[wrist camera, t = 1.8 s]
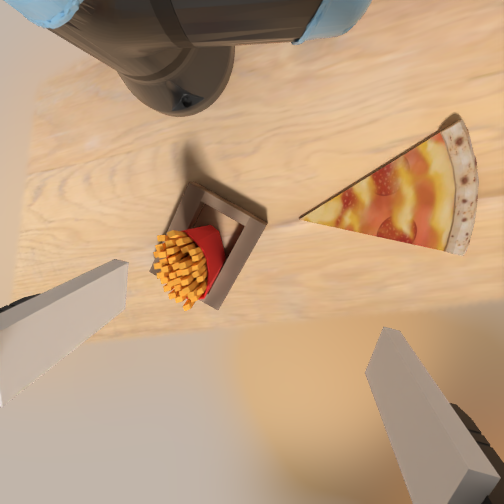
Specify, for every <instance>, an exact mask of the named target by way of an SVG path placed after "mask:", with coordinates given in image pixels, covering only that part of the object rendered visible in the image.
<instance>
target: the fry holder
mask: <svg viewBox="0 0 504 504" xmlns="http://www.w3.org/2000/svg"><path fill="white" fill-rule="evenodd" d="M204 203H205V204H207V205H208V206H210V207H212V208H214V209H216V210H217V211H219V212H221V213H223V214H224V215H226V216H228V217H230V218H231V219H233V220H235V221H237V222H238V223H240V224H242V225H244V226H245V227H244V229H243V231H242V233H241V235H240V236H239V238H238V240H237V242H236V244H235V246H234V248H233V249H232V251H231V253H230V255H229V257H228V259H227V260H226V262H225V264H224V266H223V268H222V270H221V272H220V273H219V275H218V277H217V279H216V281H215V283H214V285H213V286H212V288H210V290H209V291H208V293H207V295H206V297H205V299H199V300H200V301H202V302H204V303H206V304H208V305H209V306H211V307H213V308H215V309H216V310H219V308H220V306H221V305H222V303H223V301H224V299H225V298H226V296H227V294H228V292H229V290H230V289H231V287H232V285H233V283H234V282H235V280H236V278H237V276H238V275H239V273H240V271H241V269H242V268H243V266H244V264H245V262H246V260H247V259H248V257H249V255H250V253H251V252H252V250H253V248H254V246H255V245H256V243H257V241H258V239H259V238H260V236H261V234H262V232H263V230H264V229H265V227H266V225H267V222H265V221H263V220H262V219H260V218H258V217H256V216H255V215H253V214H251V213H249V212H248V211H246V210H244V209H242V208H241V207H239V206H237V205H235V204H234V203H232V202H230V201H228V200H226V199H225V198H223V197H221V196H219V195H218V194H216V193H214V192H212V191H211V190H209V189H207V188H205V187H204V186H202V185H200V184H198V183H196V182H189V184H188V186H187V188H186V191H185V193H184V195H183V197H182V200H181V202H180V204H179V206H178V209H177V211H176V213H175V215H174V218H173V220H172V222H171V224H170V227H169V229H168V231H167V232H169V231H172V230H176V231H183V230H187V229H192V228H193V226H194V224H195V222H196V220H197V218H198V216H199V214H200V212H201V210H202V207H203V205H204ZM166 235H167V233H166ZM163 243H165V241H163V242H162V244H163ZM163 250H164V249H163ZM159 251H160V250H159ZM165 258H167V257H165ZM161 259H164V258H159V257H157V258H155V260H154V262H153V265H152V267H151V269H150V271H149V272H151V273H153V274H154V275H156V276H157V273H158V272H160V271H161V269H154V263H157V262H160V261H159V260H161Z"/></svg>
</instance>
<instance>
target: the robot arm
mask: <svg viewBox="0 0 504 504" xmlns="http://www.w3.org/2000/svg"><path fill="white" fill-rule="evenodd" d="M4 1H5V2H7V3H8V4H9V5H11V6H12V7H13V8H15V9H16V10H17V11H19V12H20V13H21V14H23V15H24V16H25V17H26V18H27V19H28V20H29V21H31V22H32V23H34V24H36V25H37V26H41V27H43V28H47V29H48V30H50V31H52V32H53V33H55V34H57V35H58V36H60V37H61V38H63V39H65V40H66V41H68V42H70V43H71V44H73V45H75V46H76V47H78V48H80V49H81V50H83V51H85V52H86V53H88V54H90V55H91V56H93V57H95V58H96V59H98V60H100V61H101V62H103V63H105V64H106V65H108V66H110V67H111V68H113V69H115V70H116V71H117V72H118V74H119V75H120V77H121V78H122V80H123V81H124V83H125V84H126V86H127V87H128V89H129V90H130V91H131V92H132V93H133V94H134V95H135V96H136V97H137V98H138V99H139V100H140V101H141V102H142V103H144V104H145V105H147V106H148V107H150V108H152V109H154V110H156V111H158V112H160V113H163V114H165V115H169V116H175V117H184V116H190V115H194V114H197V113H199V112H201V111H203V110H205V109H206V108H208V107H209V106H210V105H211V104H213V103H214V102H215V101H216V100H217V98H218V97H219V96H220V95H221V93H222V92H223V90H224V89H225V87H226V85H227V83H228V81H229V78H230V75H231V72H232V68H233V63H234V52H235V49H234V46H235V45H251V44H267V43H282V42H291V43H292V44H293V45H298V44H301V43H303V42H304V41H305V40H314V39H322V38H331V37H337V36H340V35H342V34H344V33H346V32H348V31H349V30H350V29H351V28H352V27H353V26H354V25H355V24H356V23H357V22H358V21H359V20H360V19H361V17H362V16H363V15H364V13H365V12H366V10H367V8H368V7H369V5H370V3H371V1H372V0H4ZM128 263H129V262H125V261H121V260H117V259H114V260H112V261H110V262H107V263H105V264H103V265H101V266H99V267H97V268H95V269H93V270H91V271H88V272H86V273H84V274H82V275H80V276H78V277H76V278H74V279H72V280H69V281H67V282H65V283H63V284H61V285H59V286H57V287H55V288H53V289H50V290H48V291H46V292H44V293H42V294H36V295H32V296H28V297H24V298H22V299H20V300H17V301H15V302H13V303H11V304H10V305H9V306H8V305H6V306H4V307H2V308H0V407H3V406H4V405H6V404H7V403H8V402H9V401H11V400H12V399H13V398H14V397H16V396H17V395H18V394H20V393H21V392H22V391H23V390H25V389H26V388H27V387H28V386H30V385H31V384H32V383H33V382H34V381H36V380H37V379H38V378H40V377H41V376H42V375H43V374H45V373H46V372H47V371H48V370H49V369H51V368H52V367H53V366H54V365H56V364H57V363H58V362H59V361H61V360H62V359H63V358H64V357H66V356H67V355H68V354H69V353H71V352H72V351H73V350H74V349H76V348H77V347H78V346H79V345H81V344H82V343H83V342H84V341H86V340H87V339H88V338H89V337H91V336H92V335H93V334H94V333H96V332H97V331H98V330H99V329H101V328H102V327H103V326H104V325H106V324H107V323H108V322H109V321H111V320H112V319H113V318H114V317H116V316H117V315H118V314H119V313H121V312H122V311H123V310H124V309H125V305H126V291H127V277H128ZM365 374H366V377H367V380H368V382H369V385H370V387H371V390H372V393H373V396H374V399H375V401H376V404H377V407H378V410H379V412H380V415H381V418H382V420H383V423H384V426H385V429H386V431H387V434H388V436H389V440H390V442H391V445H392V448H393V451H394V453H395V456H396V459H397V461H398V464H399V467H400V470H401V472H402V475H403V478H404V481H405V483H406V486H407V489H408V491H409V494H410V497H411V500H412V502H413V504H504V463H503V462H502V460H501V459H500V457H499V456H498V455H497V453H496V452H495V450H494V449H493V448H491V447H490V444H489V442H488V441H487V440H486V438H485V437H484V436H483V435H481V431H480V430H479V429H478V427H477V426H476V425H475V423H474V422H473V420H472V419H471V418H470V417H469V416H468V415H467V414H466V413H465V412H464V411H463V410H461V409H460V408H459V407H458V406H457V405H456V404H452V403H449V402H448V401H447V399H446V397H445V396H444V395H443V393H442V392H441V390H440V389H439V387H438V386H437V384H436V383H435V382H434V380H433V379H432V377H431V376H430V374H429V373H428V371H427V370H426V368H425V367H424V366H423V364H422V363H421V361H420V360H419V358H418V357H417V355H416V354H415V352H414V351H413V350H412V348H411V347H410V345H409V344H408V342H407V341H406V339H405V338H404V336H403V335H402V333H401V332H400V331H398V330H395V329H391V328H387V327H383V329H382V332H381V334H380V337H379V339H378V342H377V344H376V347H375V349H374V352H373V354H372V357H371V359H370V362H369V364H368V367H367V369H366V372H365Z"/></svg>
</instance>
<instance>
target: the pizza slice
mask: <svg viewBox="0 0 504 504" xmlns="http://www.w3.org/2000/svg"><path fill="white" fill-rule="evenodd" d="M478 186H479V181H478V172H477V162H476V157H475V155H474V152H473V148H472V144H471V140H470V136H469V132H468V129H467V127H466V126H465V124H464V122H463V120H459V121H457V122H455V123H454V124H452V125H450V126H449V127H447V128H446V129H444V130H442V131H441V132H439V133H437V134H436V135H434V136H433V137H431V138H429V139H428V140H426V141H425V142H423V143H421V144H420V145H418V146H416V147H415V148H413V149H412V150H410V151H408V152H407V153H405V154H404V155H402V156H400V157H399V158H397V159H395V160H394V161H392V162H391V163H389V164H387V165H386V166H384V167H383V168H381V169H379V170H378V171H376V172H374V173H373V174H371V175H370V176H368V177H366V178H365V179H363V180H362V181H360V182H358V183H357V184H355V185H353V186H352V187H350V188H349V189H347V190H345V191H344V192H342V193H341V194H339V195H337V196H336V197H334V198H332V199H331V200H329V201H328V202H326V203H324V204H323V205H321V206H320V207H318V208H316V209H315V210H313V211H311V212H310V213H308V214H307V215H305V216H303V217H302V218H300V219H299V220H304V221H308V222H313V223H317V224H322V225H327V226H331V227H336V228H340V229H345V230H350V231H354V232H359V233H363V234H368V235H373V236H377V237H382V238H386V239H391V240H396V241H400V242H405V243H409V244H414V245H419V246H423V247H428V248H432V249H437V250H442V251H445V252H448V253H452V254H456V255H460V256H464V255H465V253H466V251H467V248H468V245H469V242H470V239H471V235H472V231H473V227H474V222H475V215H476V208H477V197H478Z"/></svg>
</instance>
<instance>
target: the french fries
mask: <svg viewBox="0 0 504 504" xmlns="http://www.w3.org/2000/svg"><path fill="white" fill-rule="evenodd" d="M157 238H158V241H165V243H163V244H159V245H155V247H156V250H157V251H156V252H153V253H154V256H155V258H157V257H159V258H164V259H161V260H159V261H160V262H157V263H154V269H161V271H160V272H158V273H157V279H159V278H161V284H164V283H167V284H166V285H165V286H163V288H164V292H166V291H170V290H172V289H174V290H173V291H172V292H170V293H169V294H168V295H169V299H173V298H175V300H176V303H178V302H182V301H184V300H185V299H186V298H187V299H188V300H187V301H186V303H185V304H184V306H183V308H184V311H187V310H189V309H191V308H192V306H193V304H194V303H195V301H197V300H199V299H205V297H206V295H207V293H208V291H209V290H210V288H211V286H212V284H213V282H214V280H215V279H216V277H217V275H218V273H219V271H220V270H221V268H222V266H223V264H224V262H225V259H226V257H225V252H224V248H223V244H222V240H221V237H220V233H219V231H218V230H217V229H215V228H214V227H213V226H212V225H207V226H202V227H197V228H192V229H187V230H183V231H176V230H172V231H169V232H167V235H157ZM163 249H164V250H163ZM159 250H160V251H159ZM165 257H167V258H165Z"/></svg>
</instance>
